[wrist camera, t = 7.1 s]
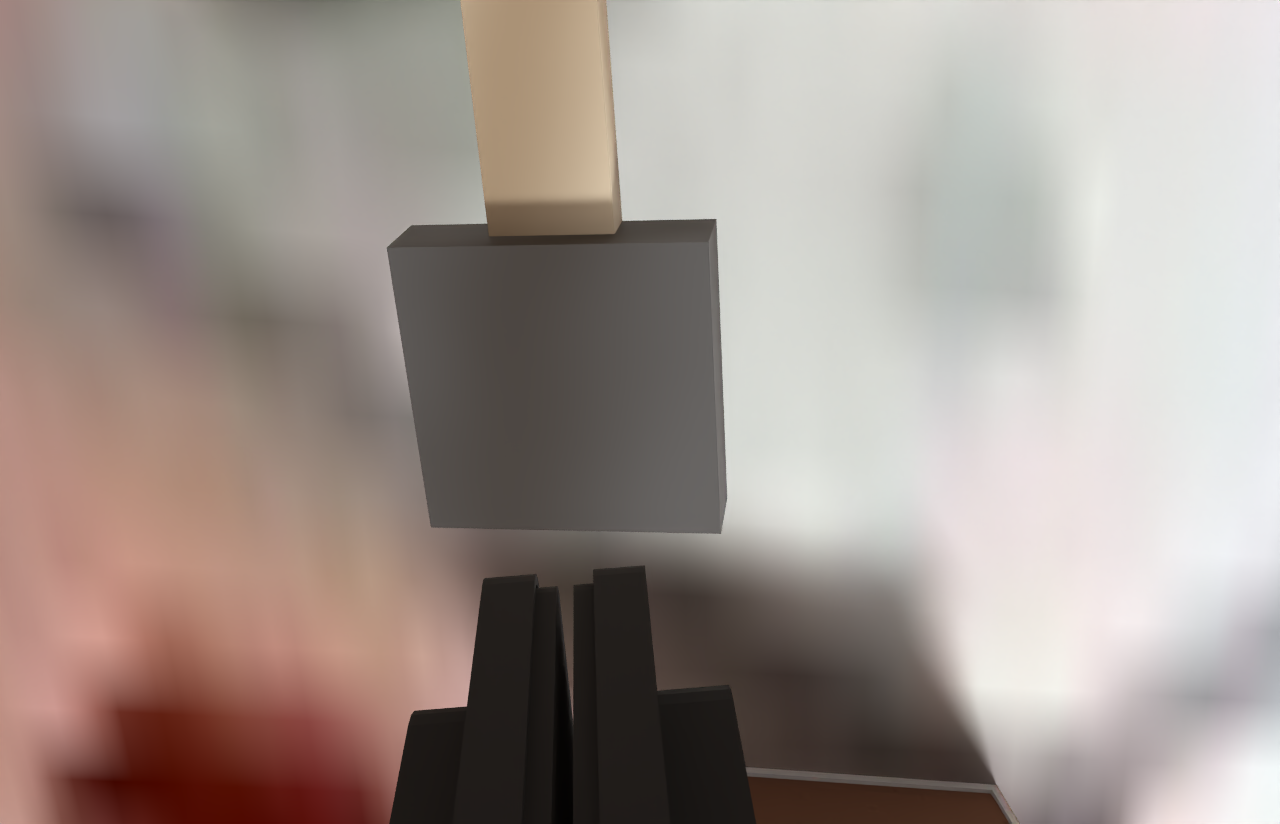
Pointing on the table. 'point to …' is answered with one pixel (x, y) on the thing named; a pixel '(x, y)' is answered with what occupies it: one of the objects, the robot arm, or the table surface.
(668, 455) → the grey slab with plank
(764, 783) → the food container
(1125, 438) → the table surface
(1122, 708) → the table surface
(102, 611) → the table surface
